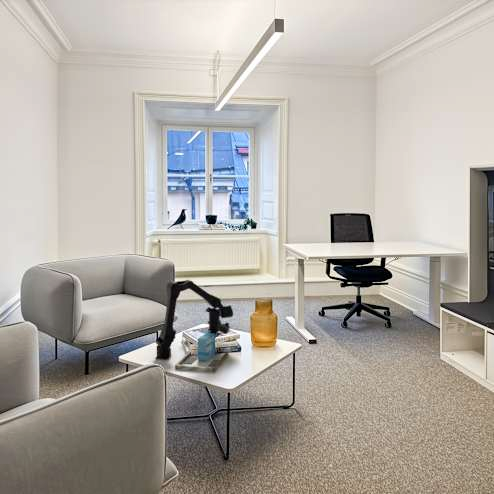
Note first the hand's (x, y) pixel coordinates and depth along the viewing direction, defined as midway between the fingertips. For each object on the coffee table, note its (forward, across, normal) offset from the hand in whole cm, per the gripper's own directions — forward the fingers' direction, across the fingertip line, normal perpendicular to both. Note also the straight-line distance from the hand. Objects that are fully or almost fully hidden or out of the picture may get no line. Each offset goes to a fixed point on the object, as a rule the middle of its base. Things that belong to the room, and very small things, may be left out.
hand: (214, 346), depth 259 cm
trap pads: (+2, -21, 0) cm, 21 cm away
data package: (+2, -14, 0) cm, 14 cm away
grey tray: (+2, -20, 0) cm, 20 cm away
